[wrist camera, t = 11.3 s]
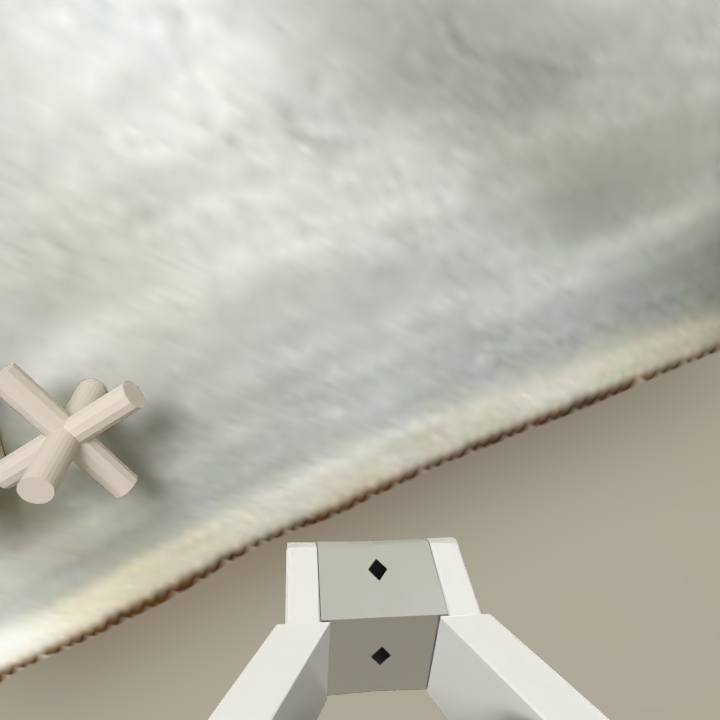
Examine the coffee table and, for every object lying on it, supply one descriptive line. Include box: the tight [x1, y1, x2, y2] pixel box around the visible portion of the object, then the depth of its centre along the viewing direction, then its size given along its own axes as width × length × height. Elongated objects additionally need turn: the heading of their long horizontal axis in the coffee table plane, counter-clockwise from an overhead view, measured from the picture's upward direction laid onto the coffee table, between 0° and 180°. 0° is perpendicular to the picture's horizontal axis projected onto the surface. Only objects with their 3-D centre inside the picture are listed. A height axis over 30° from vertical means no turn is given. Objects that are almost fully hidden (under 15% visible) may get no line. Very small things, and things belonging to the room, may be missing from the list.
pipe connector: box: [0, 363, 145, 504], centre depth 34 cm, size 10×10×10 cm
